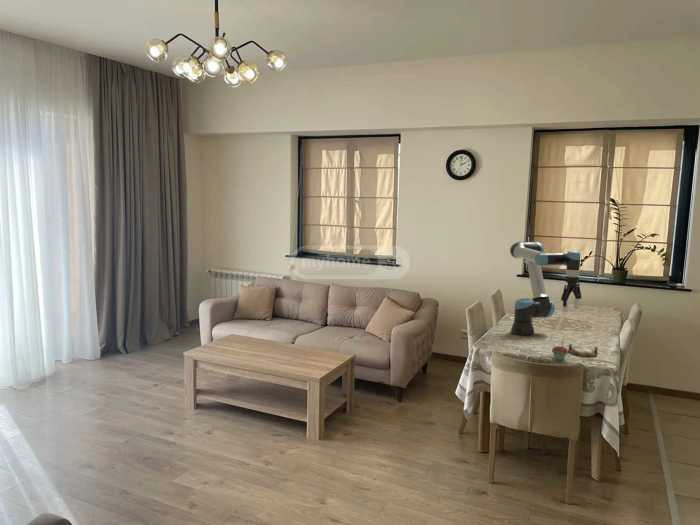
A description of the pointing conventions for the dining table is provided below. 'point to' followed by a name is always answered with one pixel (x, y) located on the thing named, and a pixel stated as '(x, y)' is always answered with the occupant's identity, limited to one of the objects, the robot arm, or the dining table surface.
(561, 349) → the cupcake
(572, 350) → the plate
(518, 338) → the dining table surface
